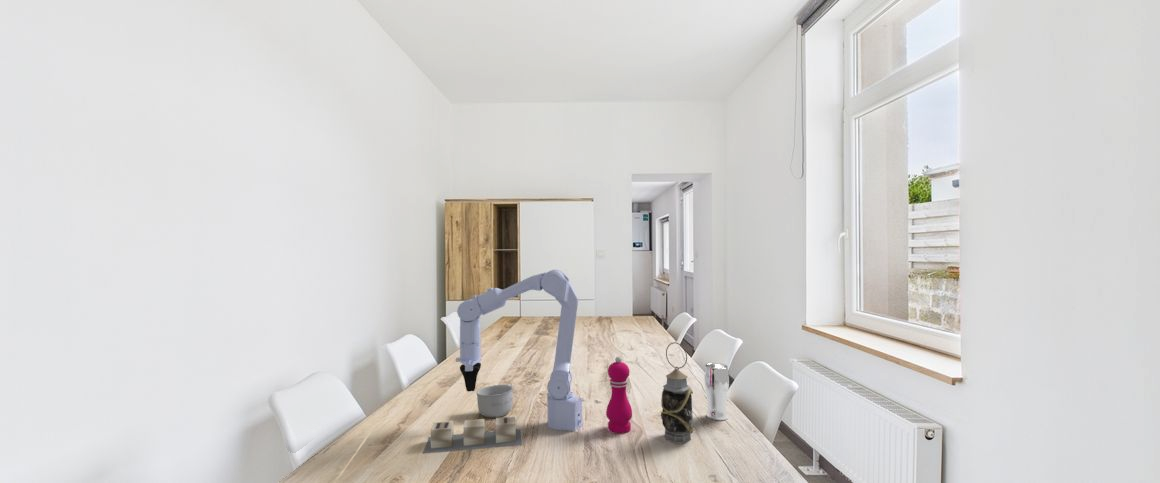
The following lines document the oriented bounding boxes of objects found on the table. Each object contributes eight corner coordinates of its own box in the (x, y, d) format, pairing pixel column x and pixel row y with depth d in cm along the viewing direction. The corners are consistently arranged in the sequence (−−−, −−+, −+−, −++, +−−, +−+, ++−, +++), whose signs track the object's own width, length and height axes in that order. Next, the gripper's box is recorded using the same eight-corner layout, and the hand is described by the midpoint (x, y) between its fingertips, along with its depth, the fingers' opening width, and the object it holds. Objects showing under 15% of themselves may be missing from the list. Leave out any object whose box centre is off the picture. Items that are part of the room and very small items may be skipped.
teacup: (493, 425, 129) (493, 396, 130) (469, 417, 136) (469, 390, 136) (527, 411, 140) (527, 385, 141) (503, 404, 147) (503, 379, 147)
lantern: (700, 438, 118) (698, 342, 119) (681, 447, 113) (680, 347, 113) (673, 429, 125) (671, 338, 125) (654, 437, 119) (653, 342, 120)
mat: (520, 432, 124) (520, 429, 124) (522, 448, 114) (522, 444, 114) (429, 439, 120) (429, 436, 120) (422, 456, 110) (422, 453, 110)
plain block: (484, 436, 120) (484, 418, 120) (484, 443, 115) (483, 426, 115) (465, 437, 119) (465, 420, 119) (463, 445, 114) (463, 427, 114)
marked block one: (515, 433, 121) (514, 416, 121) (515, 441, 116) (515, 423, 116) (496, 435, 120) (495, 417, 120) (495, 442, 115) (495, 424, 115)
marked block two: (453, 438, 118) (453, 420, 118) (451, 446, 113) (451, 428, 113) (433, 440, 117) (433, 422, 118) (430, 448, 112) (430, 429, 113)
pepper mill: (631, 435, 121) (630, 360, 121) (604, 433, 122) (603, 359, 123) (633, 425, 128) (632, 354, 128) (608, 423, 130) (607, 353, 130)
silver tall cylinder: (726, 412, 137) (725, 363, 137) (732, 421, 130) (731, 369, 130) (703, 412, 137) (702, 362, 138) (707, 420, 131) (706, 368, 131)
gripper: (458, 338, 135) (458, 383, 134) (453, 348, 120) (453, 399, 120) (482, 336, 136) (482, 382, 136) (480, 346, 122) (480, 397, 121)
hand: (470, 390), depth 128 cm, fingers closed
